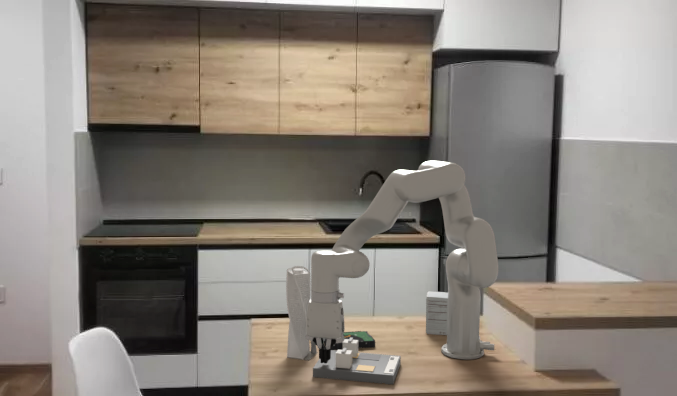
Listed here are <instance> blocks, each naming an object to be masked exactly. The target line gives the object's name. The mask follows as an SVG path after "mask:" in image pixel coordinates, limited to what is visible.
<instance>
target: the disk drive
mask: <svg viewBox="0 0 677 396" xmlns="http://www.w3.org/2000/svg"><path fill="white" fill-rule="evenodd" d="M343 335H344V339H350V337H351V338H353V340H358V349H370V348H371V349H372V348H376V340H375V339H374V337H373V335H371V334H370V333H369V332H368V331H367V330H366V331H365V330H362V331H361V330H356V331H344V333H343ZM323 340H324V344H325V346H326V342H327V338H323ZM338 349H339V350H343V342H341V343H335V344H334V345H333V346H332V347H331V350H336V351H337V350H338Z"/></svg>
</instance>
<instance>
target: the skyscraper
mask: <svg viewBox="0 0 677 396" xmlns="http://www.w3.org/2000/svg"><path fill="white" fill-rule="evenodd" d="M285 286H286V287H285V290H286V292H285V295H286V307H287V308H286V309H287V313H288V319H289V321H288V323H289V324H288V335H287V348H286V349H287V350H286V358H287V359H293V360H294V359H295V360H302V361H310V360H312V358H314V357H315V355H316V354H319V351H317V345H316V344H315V343H314V342H313V341H310V340H307V339H306V317H307V309H308V303H309V300H310V299H311V272H310V270H309V269H308V268H307V267H305V266H300V265H294V266H292V267H289V268H287V270H286V282H285Z"/></svg>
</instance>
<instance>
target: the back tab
mask: <svg viewBox="0 0 677 396" xmlns="http://www.w3.org/2000/svg"><path fill="white" fill-rule="evenodd" d="M343 348H347V350H351V351H352V357H357V355H358V352H359V348H358V340H353V338H351V337H350V339H344V341H343Z"/></svg>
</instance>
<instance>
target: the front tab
mask: <svg viewBox="0 0 677 396" xmlns="http://www.w3.org/2000/svg"><path fill="white" fill-rule="evenodd" d="M336 351H337V352H336V367H337V368H348V369H350V368H351V366H352V351H351V350H347V348H343V350H339V349H338V350H336Z"/></svg>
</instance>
